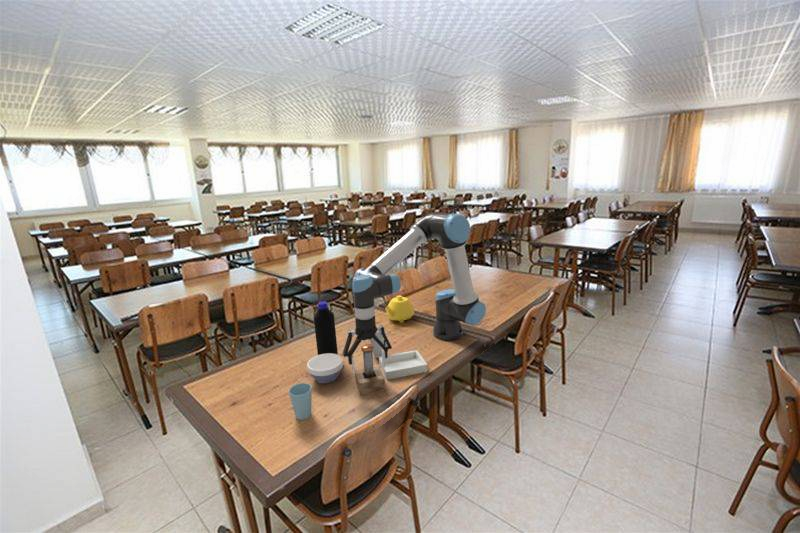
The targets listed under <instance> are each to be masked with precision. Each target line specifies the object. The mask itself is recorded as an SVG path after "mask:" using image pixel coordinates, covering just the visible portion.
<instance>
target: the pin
mask: <svg viewBox="0 0 800 533" xmlns="http://www.w3.org/2000/svg"><path fill="white" fill-rule="evenodd" d="M373 349H374V346H373V345H372V344H370V343H364V344H362V345H361V347H360V350H361V351H362V357H363V369H364V371H365V379H366V378H372V377H374V367H375V366H374V354H373V352H372V350H373Z"/></svg>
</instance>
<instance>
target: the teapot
mask: <svg viewBox="0 0 800 533" xmlns="http://www.w3.org/2000/svg"><path fill="white" fill-rule="evenodd" d="M385 311H386V316H387V317H388V318H389V321H392V322H393V321H399V322H398V323H399V324H404V323H405V321H407V320H411V319H412V317H413V315H414V314H415V309H414V306H413V304H412V303H411V301H410V300H409V298H408V297H406V296H405V297H404V296H403V295H396V297H393V298H391V299H390V301H389V303H388V305H387V306H386V307H385Z"/></svg>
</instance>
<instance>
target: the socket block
mask: <svg viewBox="0 0 800 533" xmlns="http://www.w3.org/2000/svg"><path fill="white" fill-rule="evenodd" d="M373 367H374V377H372V378H366V379H365V371H364V368H361V369H357V370H356V369H355V373H354V375H355V376H354V378H355V379H354V380H355V384H356V387H357V390H358V393H359V396H364V395H368V394H373V393H378V392H384V391H386V380H385V379H386V377H385V375H384V373H383V371H382V368H381V366H380V365H378V366H373Z"/></svg>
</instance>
